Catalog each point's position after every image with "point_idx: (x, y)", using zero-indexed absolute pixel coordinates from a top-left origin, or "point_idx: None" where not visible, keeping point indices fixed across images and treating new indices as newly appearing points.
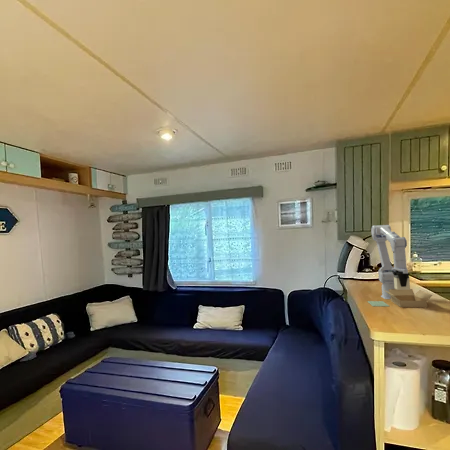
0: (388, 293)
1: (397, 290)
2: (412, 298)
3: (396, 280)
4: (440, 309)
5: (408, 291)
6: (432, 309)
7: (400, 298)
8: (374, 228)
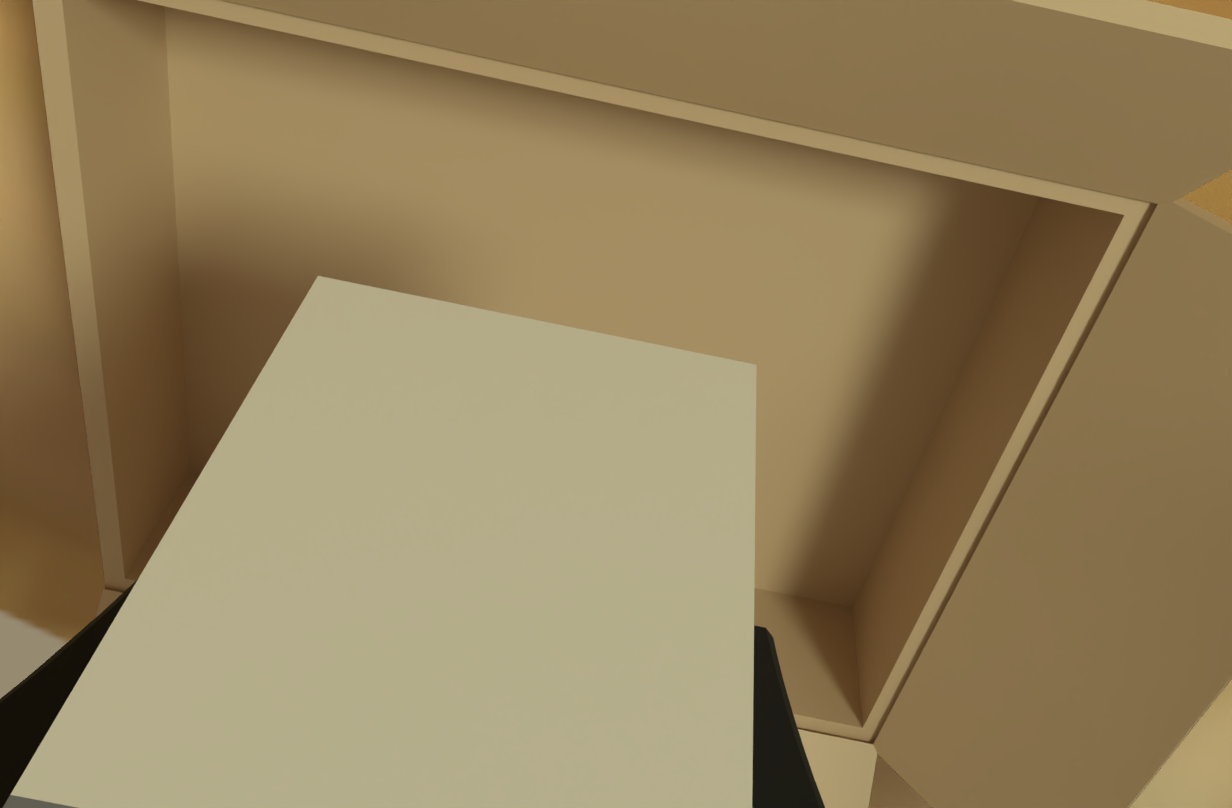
0: (973, 39)
1: (1214, 581)
2: (870, 632)
3: (178, 654)
4: (72, 590)
5: (1021, 769)
6: (51, 482)
7: (981, 398)
8: None
